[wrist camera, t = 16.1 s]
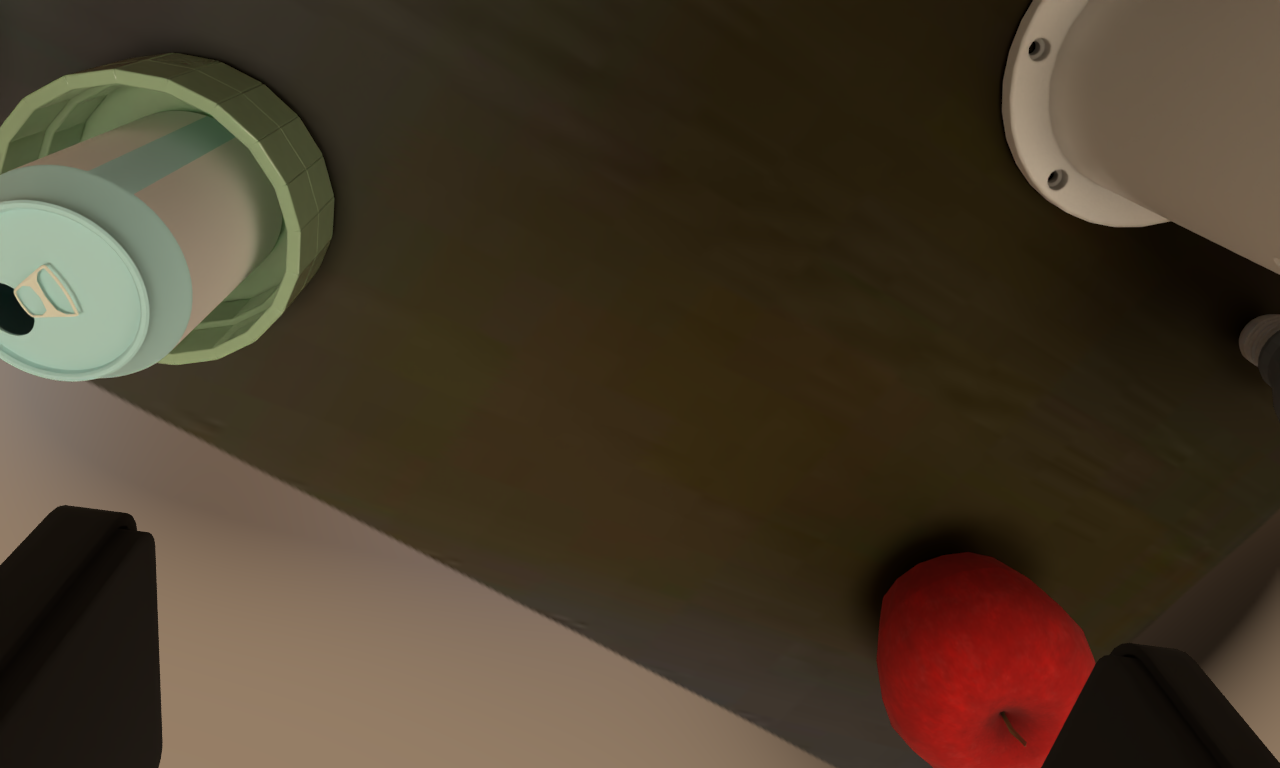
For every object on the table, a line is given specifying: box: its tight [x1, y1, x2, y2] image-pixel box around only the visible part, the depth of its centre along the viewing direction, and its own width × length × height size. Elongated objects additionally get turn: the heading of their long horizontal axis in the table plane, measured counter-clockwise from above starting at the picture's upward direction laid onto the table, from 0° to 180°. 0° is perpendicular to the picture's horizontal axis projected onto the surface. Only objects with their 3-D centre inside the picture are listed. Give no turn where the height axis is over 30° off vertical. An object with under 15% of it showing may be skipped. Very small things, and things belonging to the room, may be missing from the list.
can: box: [0, 111, 283, 381], centre depth 33 cm, size 7×7×12 cm
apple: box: [877, 552, 1095, 768], centre depth 45 cm, size 10×10×11 cm
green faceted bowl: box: [0, 53, 334, 365], centre depth 36 cm, size 11×11×6 cm
